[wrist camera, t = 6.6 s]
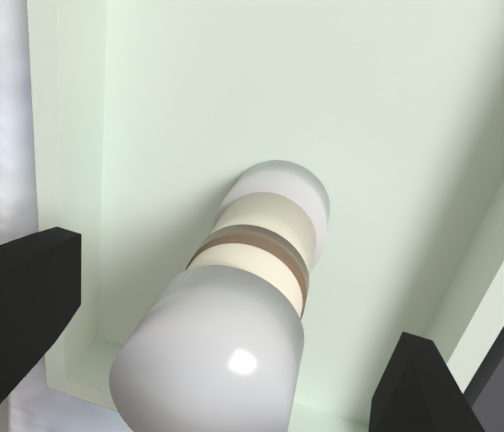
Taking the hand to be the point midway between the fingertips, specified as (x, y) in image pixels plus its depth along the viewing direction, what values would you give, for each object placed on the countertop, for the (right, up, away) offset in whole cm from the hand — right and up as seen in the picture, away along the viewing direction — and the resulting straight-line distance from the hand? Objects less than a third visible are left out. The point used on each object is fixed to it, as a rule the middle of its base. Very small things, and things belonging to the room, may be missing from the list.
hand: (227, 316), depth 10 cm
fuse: (+1, +2, +5) cm, 6 cm away
